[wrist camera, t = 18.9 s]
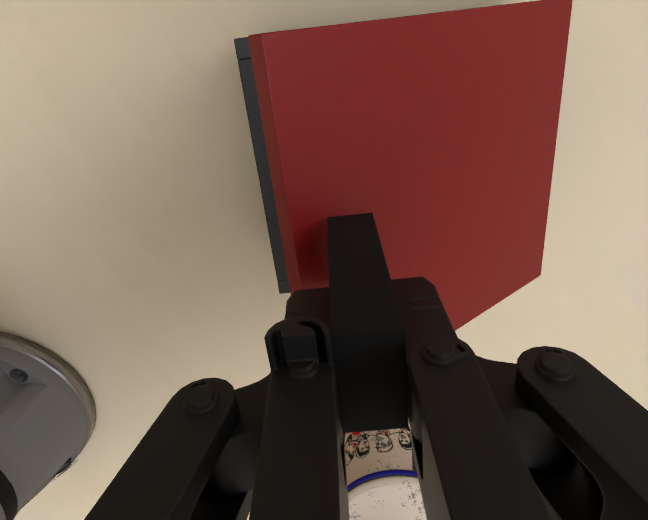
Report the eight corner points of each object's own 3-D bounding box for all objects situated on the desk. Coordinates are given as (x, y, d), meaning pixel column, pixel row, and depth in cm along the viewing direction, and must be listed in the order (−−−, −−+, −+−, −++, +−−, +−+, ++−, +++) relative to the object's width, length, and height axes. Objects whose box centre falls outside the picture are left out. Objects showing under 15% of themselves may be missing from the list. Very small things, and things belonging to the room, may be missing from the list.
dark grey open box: (287, 245, 33) (279, 293, 27) (253, 37, 27) (233, 38, 21) (491, 224, 33) (531, 269, 27) (504, 5, 27) (559, -2, 20)
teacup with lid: (419, 376, 39) (454, 502, 29) (439, 448, 43) (477, 582, 32) (287, 408, 41) (274, 538, 30) (318, 474, 44) (317, 610, 34)
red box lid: (309, 407, 19) (320, 418, 18) (246, 35, 13) (260, 33, 12) (527, 270, 26) (540, 275, 26) (555, -2, 20) (573, -4, 20)
